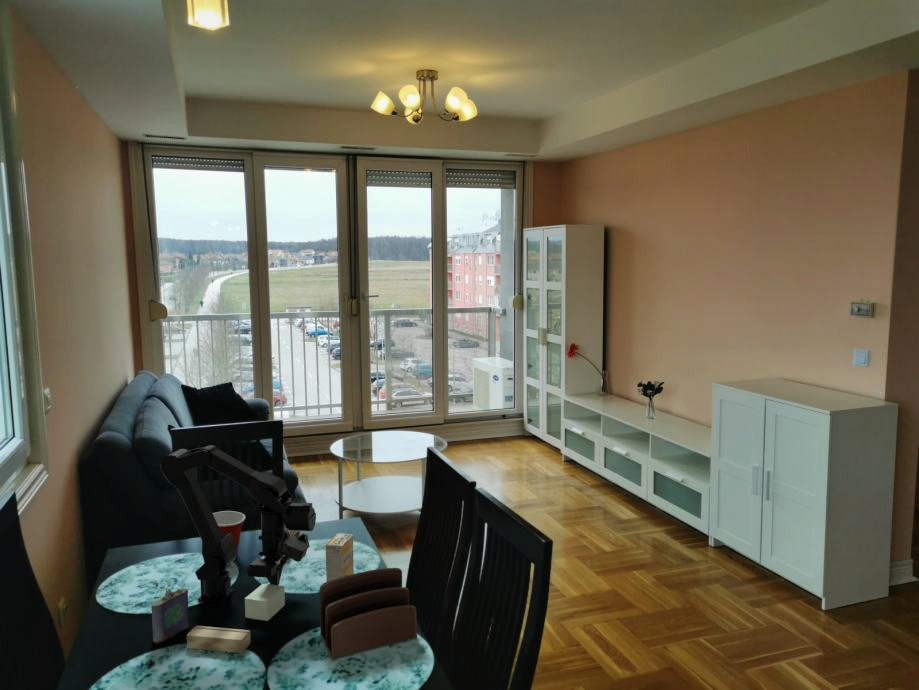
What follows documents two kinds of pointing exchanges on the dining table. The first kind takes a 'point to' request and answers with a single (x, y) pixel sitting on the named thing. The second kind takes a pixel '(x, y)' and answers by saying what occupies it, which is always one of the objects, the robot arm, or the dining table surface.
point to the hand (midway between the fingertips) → (275, 588)
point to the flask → (170, 614)
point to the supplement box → (339, 557)
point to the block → (264, 602)
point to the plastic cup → (230, 523)
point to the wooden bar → (218, 639)
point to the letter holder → (365, 612)
